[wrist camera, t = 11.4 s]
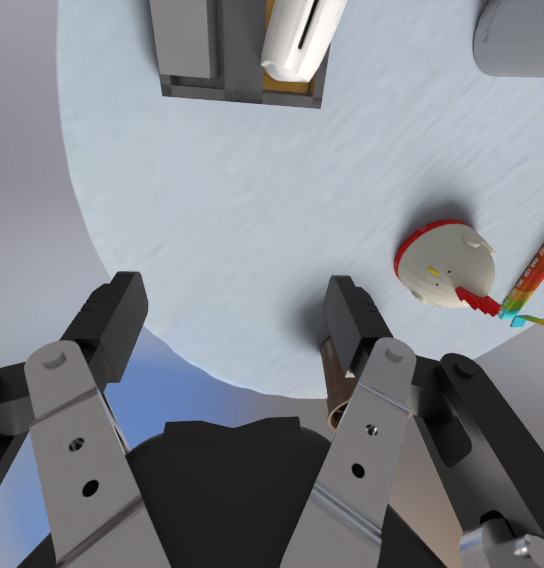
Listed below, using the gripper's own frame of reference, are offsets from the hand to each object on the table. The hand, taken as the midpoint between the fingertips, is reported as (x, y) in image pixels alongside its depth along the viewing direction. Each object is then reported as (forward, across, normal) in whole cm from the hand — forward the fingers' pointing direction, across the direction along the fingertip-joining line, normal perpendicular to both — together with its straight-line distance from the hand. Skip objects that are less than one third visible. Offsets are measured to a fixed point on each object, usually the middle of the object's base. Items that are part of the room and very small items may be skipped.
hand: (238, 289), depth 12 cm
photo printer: (+26, -5, -12) cm, 29 cm away
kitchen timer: (+30, -34, +16) cm, 48 cm away
